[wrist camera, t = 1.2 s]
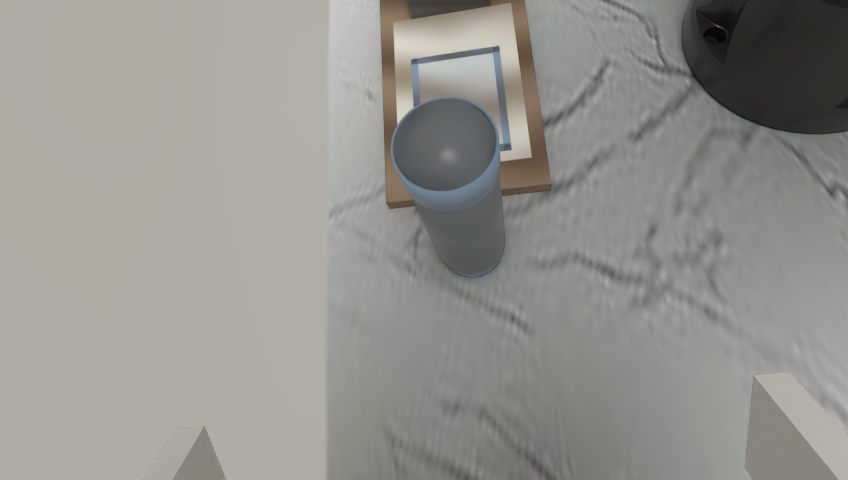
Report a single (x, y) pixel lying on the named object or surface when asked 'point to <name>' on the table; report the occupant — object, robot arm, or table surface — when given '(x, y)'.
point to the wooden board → (465, 79)
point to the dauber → (454, 180)
